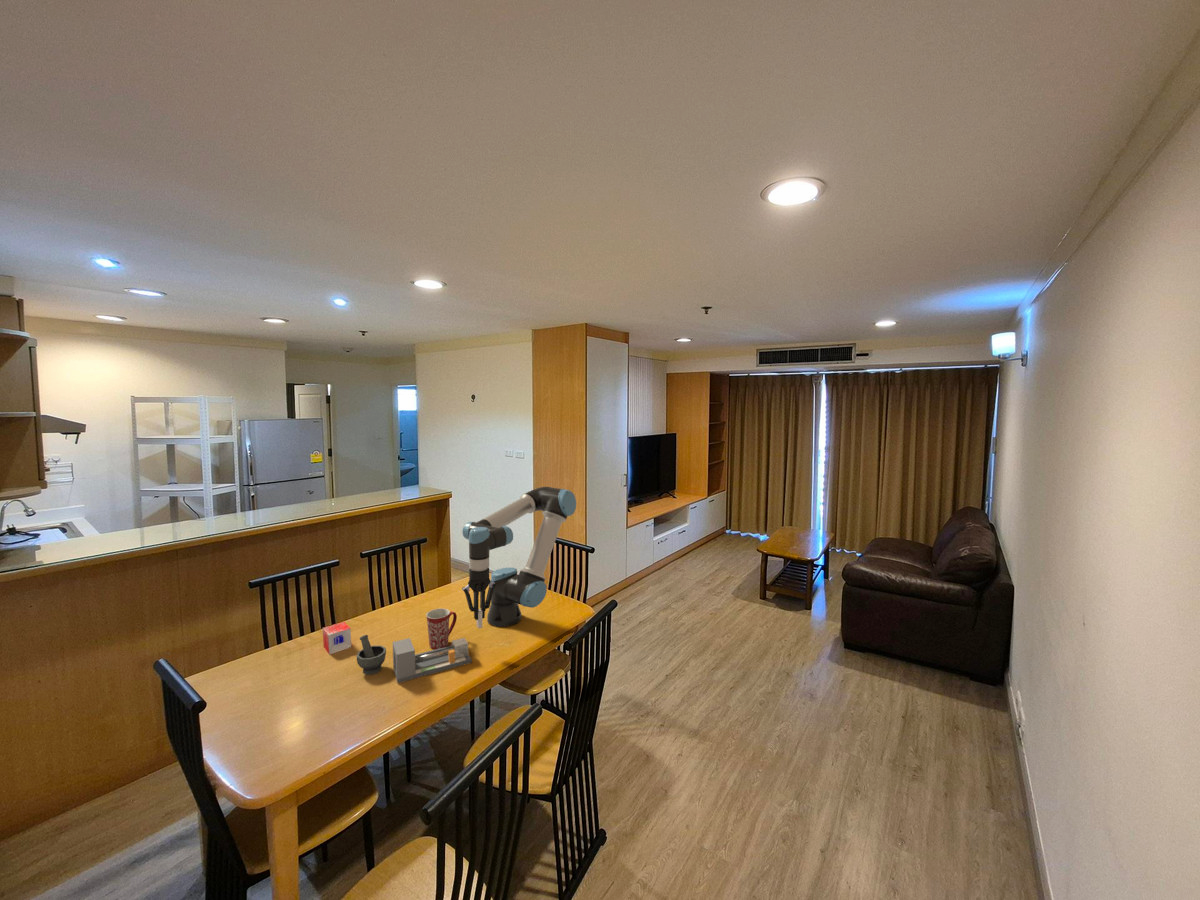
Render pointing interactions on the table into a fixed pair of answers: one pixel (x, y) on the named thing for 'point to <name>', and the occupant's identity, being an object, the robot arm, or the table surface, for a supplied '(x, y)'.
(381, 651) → the mortar and pestle
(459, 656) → the grey block with bar
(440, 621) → the mug
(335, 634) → the toy block
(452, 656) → the tangerine cube
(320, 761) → the table surface
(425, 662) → the bench
